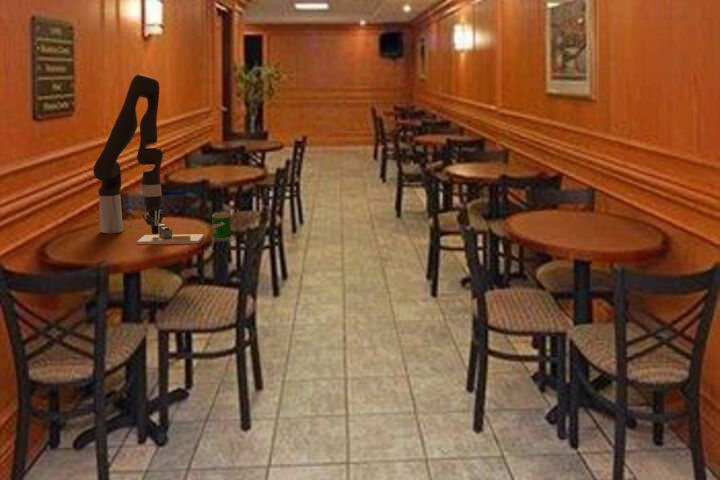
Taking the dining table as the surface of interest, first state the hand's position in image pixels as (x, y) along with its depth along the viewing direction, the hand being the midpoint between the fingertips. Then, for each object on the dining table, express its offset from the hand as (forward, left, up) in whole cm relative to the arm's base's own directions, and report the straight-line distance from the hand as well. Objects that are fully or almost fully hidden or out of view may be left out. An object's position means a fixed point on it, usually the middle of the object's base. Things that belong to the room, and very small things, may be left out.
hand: (155, 233), depth 333 cm
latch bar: (+4, +2, -1) cm, 5 cm away
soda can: (+26, +13, -3) cm, 30 cm away
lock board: (+7, +2, -3) cm, 8 cm away
